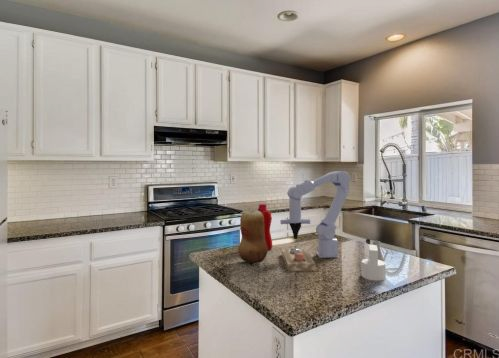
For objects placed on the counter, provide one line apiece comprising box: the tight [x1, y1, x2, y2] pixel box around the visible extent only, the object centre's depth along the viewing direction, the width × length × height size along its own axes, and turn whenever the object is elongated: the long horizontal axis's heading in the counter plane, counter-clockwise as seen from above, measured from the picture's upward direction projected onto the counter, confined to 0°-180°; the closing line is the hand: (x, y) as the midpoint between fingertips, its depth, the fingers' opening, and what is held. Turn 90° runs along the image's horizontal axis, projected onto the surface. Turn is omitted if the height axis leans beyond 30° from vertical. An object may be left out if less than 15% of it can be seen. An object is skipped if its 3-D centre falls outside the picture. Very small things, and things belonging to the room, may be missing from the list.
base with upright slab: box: [361, 244, 386, 282], centre depth 124 cm, size 9×9×12 cm
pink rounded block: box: [295, 253, 304, 261], centre depth 138 cm, size 4×4×4 cm
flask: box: [372, 240, 386, 263], centre depth 142 cm, size 7×7×10 cm
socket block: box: [281, 248, 316, 272], centre depth 144 cm, size 12×24×3 cm, turn 0°
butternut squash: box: [238, 209, 269, 265], centre depth 143 cm, size 14×13×25 cm
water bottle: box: [256, 203, 273, 251], centre depth 168 cm, size 9×11×25 cm
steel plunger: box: [290, 247, 300, 254], centre depth 150 cm, size 4×4×4 cm
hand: (295, 238), depth 150 cm, fingers closed
